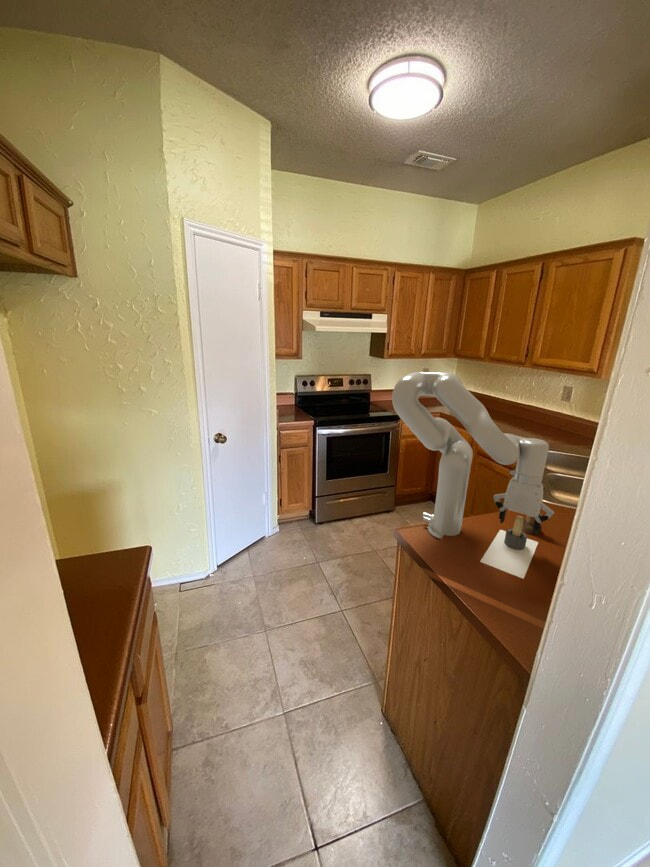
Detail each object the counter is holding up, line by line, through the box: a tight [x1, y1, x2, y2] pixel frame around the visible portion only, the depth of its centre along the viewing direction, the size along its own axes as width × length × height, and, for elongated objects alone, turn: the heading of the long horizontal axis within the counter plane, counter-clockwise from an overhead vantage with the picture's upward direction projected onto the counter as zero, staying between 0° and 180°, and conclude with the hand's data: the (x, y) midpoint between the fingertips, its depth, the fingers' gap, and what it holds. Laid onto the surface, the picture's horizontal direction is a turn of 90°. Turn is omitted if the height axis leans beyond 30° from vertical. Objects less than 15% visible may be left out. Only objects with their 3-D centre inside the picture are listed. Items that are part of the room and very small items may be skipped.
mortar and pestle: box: [521, 485, 545, 536], centre depth 129 cm, size 7×6×18 cm
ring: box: [504, 528, 528, 550], centre depth 119 cm, size 6×6×4 cm
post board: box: [480, 515, 539, 579], centre depth 114 cm, size 12×24×12 cm, turn 141°
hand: (517, 526), depth 117 cm, fingers open, 9 cm apart
